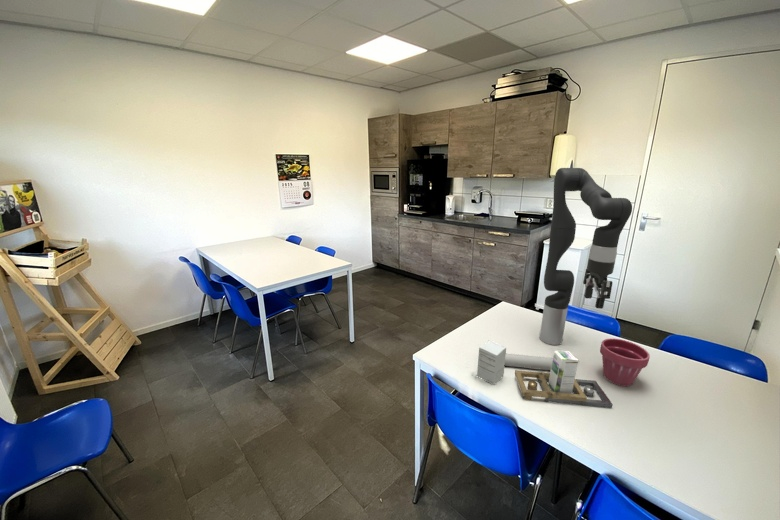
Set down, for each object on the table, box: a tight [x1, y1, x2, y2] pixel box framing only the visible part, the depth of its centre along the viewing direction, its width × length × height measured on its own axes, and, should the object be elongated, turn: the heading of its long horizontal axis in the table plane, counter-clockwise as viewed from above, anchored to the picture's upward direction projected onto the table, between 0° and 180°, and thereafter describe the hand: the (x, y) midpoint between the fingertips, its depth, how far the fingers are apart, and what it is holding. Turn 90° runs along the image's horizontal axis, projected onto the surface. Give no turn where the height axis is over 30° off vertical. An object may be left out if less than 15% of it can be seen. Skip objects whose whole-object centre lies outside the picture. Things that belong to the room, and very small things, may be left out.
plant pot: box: [599, 338, 651, 387], centre depth 117 cm, size 14×14×13 cm
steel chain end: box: [536, 378, 613, 409], centre depth 111 cm, size 12×20×2 cm, turn 81°
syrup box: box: [548, 350, 579, 394], centre depth 110 cm, size 6×6×14 cm
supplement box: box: [476, 339, 507, 386], centre depth 118 cm, size 7×7×13 cm
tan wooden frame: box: [514, 369, 588, 402], centre depth 112 cm, size 12×20×3 cm, turn 81°
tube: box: [504, 352, 553, 371], centre depth 125 cm, size 5×5×25 cm
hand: (593, 302), depth 111 cm, fingers open, 8 cm apart
